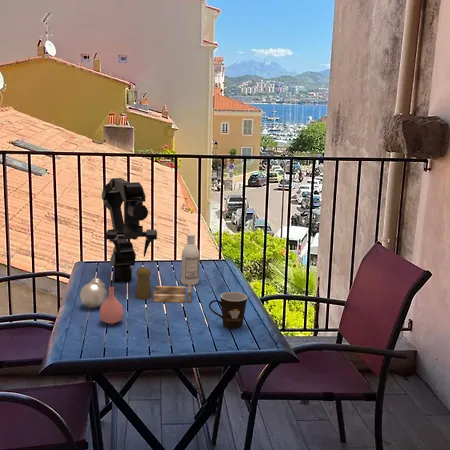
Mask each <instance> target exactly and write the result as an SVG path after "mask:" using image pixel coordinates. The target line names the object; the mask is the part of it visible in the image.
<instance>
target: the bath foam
mask: <svg viewBox="0 0 450 450" xmlns="http://www.w3.org/2000/svg"><path fill="white" fill-rule="evenodd" d="M195 237H196V234H194V233H187V239H186V245H184V247H183V249H182V252H181V271H180V272H181V278H180V279H181V280H180V281H181V284H182V285H184V286H188V284H189V283H191V286H195V285H198V284H199V277H200V251H199V249H198V247H197V244H195V242H196V238H195Z"/></svg>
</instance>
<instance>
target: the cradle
mask: <svg viewBox="0 0 450 450" xmlns="http://www.w3.org/2000/svg"><path fill="white" fill-rule="evenodd" d="M186 286H188V287H186ZM186 289H188V290H187V291H186ZM186 292H187V303H188V304H190V303H192V285H191V283H189V284H188V285H184V286H178V285H177V286H175V285H173V286H171V285H155V290H154V291H153V295H152V300H153V303H186Z"/></svg>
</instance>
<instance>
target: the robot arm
mask: <svg viewBox="0 0 450 450" xmlns="http://www.w3.org/2000/svg"><path fill="white" fill-rule="evenodd" d="M146 196H147V195H146V193H145V190H144V188H143V185H141V183H140V182H138V181H137V182H129V181H127V180H125V179H124V178H122V177H112V178H110V179H109V182H108V183H107V184H105V185H104V186H103V188H102V192H101V200H102V201H103V203H104V207H106V209H108V211H109V214H110V220H111V225H112V228H111V229H108V230H106V232H105V240H109V242H111V243H112V244H113V245H114V247H113V250H112V254H111V256H110V265H111V266H112V267H113V276H114V277H113V281H112V282H113V283H130V282H131V280H132V279H133V267H134V266H135V264H136V256H137V254H136V251H135V250H134V245H133V243H132V242H131V241H129V240H133V241H134V240H138V238H145V240H144V242H145V243H144V249H143V258H146V254H147V251H148V248H149V245H150V244H151V242H154V240H157V239H158V230H157V229H146V231H144V228H143V227H144V226H143V225H140V221H145V219H147V217H148V215H149V209H148V207H147V206H145V205H144V203H146V198H147V197H146ZM122 205H123V211H122ZM131 266H133V267H131Z"/></svg>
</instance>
